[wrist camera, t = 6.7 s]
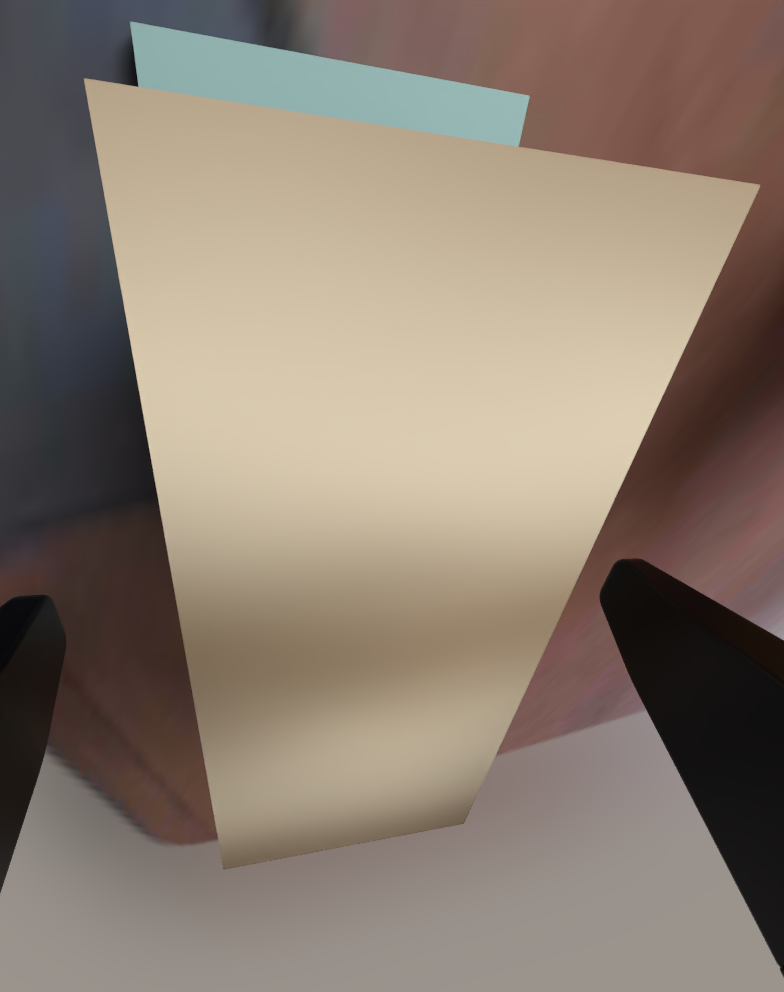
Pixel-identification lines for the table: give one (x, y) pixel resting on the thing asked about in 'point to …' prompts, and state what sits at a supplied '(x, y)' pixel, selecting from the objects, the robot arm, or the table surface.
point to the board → (382, 430)
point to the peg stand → (323, 86)
